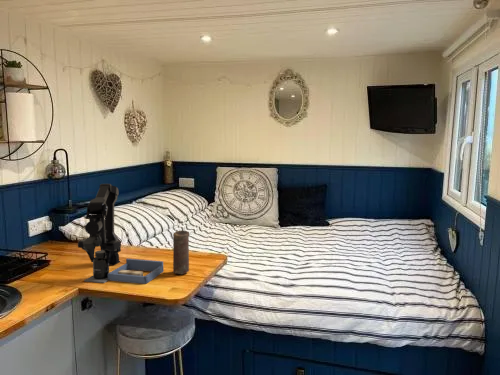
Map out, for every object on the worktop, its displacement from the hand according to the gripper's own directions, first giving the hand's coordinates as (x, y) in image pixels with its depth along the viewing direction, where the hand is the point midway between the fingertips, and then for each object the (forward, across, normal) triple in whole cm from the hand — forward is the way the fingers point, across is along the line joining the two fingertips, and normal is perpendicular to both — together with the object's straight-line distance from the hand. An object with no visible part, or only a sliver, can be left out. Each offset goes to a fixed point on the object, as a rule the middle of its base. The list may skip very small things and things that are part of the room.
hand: (100, 262), depth 173 cm
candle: (+8, +33, +15) cm, 37 cm away
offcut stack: (+8, +14, +2) cm, 16 cm away
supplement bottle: (+7, 0, 0) cm, 7 cm away
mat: (+8, 0, 0) cm, 8 cm away
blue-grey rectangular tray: (+8, +14, +8) cm, 18 cm away
